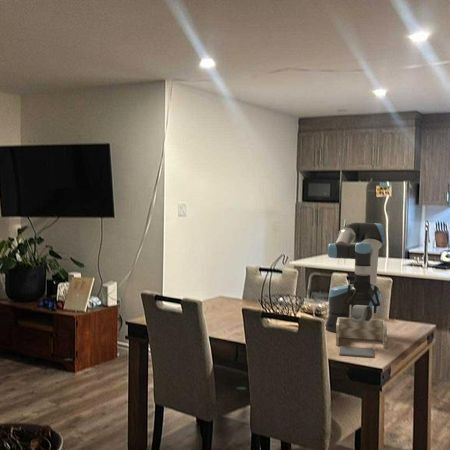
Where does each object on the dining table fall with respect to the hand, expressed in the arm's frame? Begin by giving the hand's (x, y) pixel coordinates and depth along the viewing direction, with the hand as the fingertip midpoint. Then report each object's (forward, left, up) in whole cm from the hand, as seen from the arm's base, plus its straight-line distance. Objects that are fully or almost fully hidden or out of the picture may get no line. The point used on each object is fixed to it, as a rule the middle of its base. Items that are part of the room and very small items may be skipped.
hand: (361, 319), depth 278 cm
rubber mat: (-2, -19, -12) cm, 22 cm away
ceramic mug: (-1, -1, -1) cm, 2 cm away
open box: (0, 0, -12) cm, 12 cm away
